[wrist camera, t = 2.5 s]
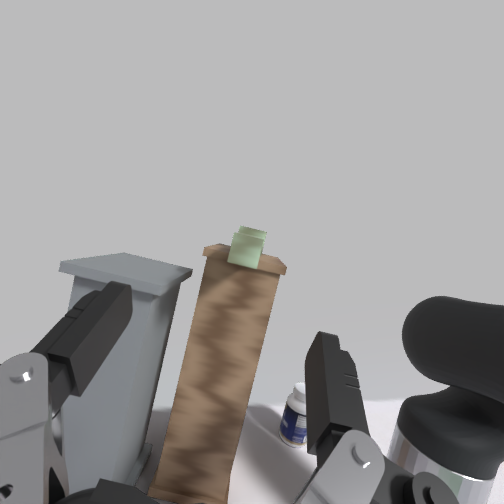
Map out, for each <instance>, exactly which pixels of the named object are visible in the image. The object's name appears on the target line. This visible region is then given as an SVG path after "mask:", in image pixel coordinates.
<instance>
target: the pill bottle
mask: <svg viewBox="0 0 504 504" xmlns="http://www.w3.org/2000/svg"><path fill="white" fill-rule="evenodd" d="M279 434H280V437H281V439H282V440H283V441H284V442H285V443H286V444H288V445H289V446H292V447H295V448H302V447H304V446H305V445H306V444H307V428H306V395H305V383H300V382H299V383H296V384H295V387H294V390H293V393H291V394H290V395H289V396H288V399H287V402H286V405H285V409H284V413H283V417H282V421H281V425H280V429H279Z"/></svg>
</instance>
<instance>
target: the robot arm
mask: <svg viewBox="0 0 504 504" xmlns="http://www.w3.org/2000/svg"><path fill="white" fill-rule="evenodd" d="M132 313H133V304H132V287H131V285H129V284H125V283H120V282H116V281H110V282H109V283H108V284H107V285H106V286H105V287H104V288H103V290H102V291H98V290H94V291H92V292H90V293H88V294H86V295H85V296H83V297H81V299H80V300H79V301H78V302H77V303H76V304H75V305H74V306H73V308H72V309H70V310H69V311H68V312H67V314H65V317H63V318H62V319H61V320H60V321H59V322H58V323H57V324H56V325H55V326H54V327H53V328H52V329H51V330H50V331H49V333H48V334H47V335H46V336H45V337H44V338H43V339H42V340H41V341H40V342H39V343H38V344H37V345H36V346H35V347H34V348H33V349H32V350H31V351H30V352H29V353H23V354H19V355H16V356H14V357H12V358H10V359H8V360H7V361H5V362H4V363H3V364H0V504H159V503H158V502H156V501H155V500H153V499H152V498H150V497H149V496H147V495H146V494H144V493H143V492H141V491H140V490H138V489H137V488H135V487H134V486H131V485H126V484H122V483H118V482H114V481H110V480H106V479H102V478H100V479H99V481H98V483H97V485H96V488H89V489H85V490H81V491H78V492H76V493H73V494H71V495H69V481H68V473H67V468H66V462H65V444H64V421H63V403H64V402H65V401H66V399H67V398H68V396H69V395H73V396H77V397H81V395H82V394H83V392H84V391H85V389H86V388H87V386H88V385H89V383H90V382H91V380H92V379H93V377H94V376H95V374H96V373H97V371H98V370H99V368H100V367H101V365H102V364H103V362H104V360H105V359H106V357H107V356H108V354H109V353H110V351H111V350H112V348H113V347H114V345H115V344H116V342H117V341H118V339H119V338H120V336H121V335H122V333H123V332H124V330H125V329H126V327H127V326H128V324H129V322H130V320H131V317H132ZM402 341H403V346H404V350H405V352H406V354H407V357H408V358H409V360H410V361H411V363H412V364H413V366H414V367H415V368H416V369H417V370H418V371H419V372H420V373H422V374H423V375H424V376H426V377H428V378H429V379H432V380H434V381H437V382H440V383H443V384H446V385H450V387H448V388H447V389H445V390H442V391H440V392H437V393H433V394H427V395H418V396H412V397H409V398H407V399H406V400H405V401H404V402H403V404H402V406H401V408H400V411H399V415H398V418H397V422H396V426H395V429H394V433H393V436H392V440H391V443H390V447H389V450H388V454H387V457H385V456H384V455H383V454H382V452H381V450H380V448H379V446H378V445H377V444H376V442H375V441H374V440H373V439H372V438H371V436H370V434H369V430H368V425H367V420H366V415H365V410H364V406H363V401H362V396H361V391H360V390H359V388H360V386H359V381H358V379H357V371H356V366H355V363H354V361H353V360H352V358H351V356H350V354H349V353H348V352H347V351H343V350H340V344H339V338H338V336H337V335H333V334H329V333H325V332H320V331H319V332H318V333H317V335H316V337H315V339H314V341H313V343H312V345H311V347H310V349H309V351H308V353H307V356H306V360H305V395H306V428H307V453H308V454H312V455H316V456H317V467H316V469H315V470H314V472H313V473H312V475H311V476H310V478H309V479H308V480H307V482H306V483H305V485H304V486H303V488H302V489H301V491H300V492H299V494H298V495H297V497H296V498H295V500H294V501H293V503H292V504H487V501H488V498H489V495H490V491H491V488H492V485H493V482H494V479H495V476H496V473H497V470H498V467H499V465H500V464H501V463H502V462H503V461H504V306H503V305H493V304H486V303H478V302H471V301H465V300H462V299H457V298H452V297H447V296H436V297H431V298H428V299H426V300H424V301H422V302H420V303H419V304H417V305H416V306H415V307H414V308H413V309H412V310H411V311H410V313H409V314H408V315H407V317H406V319H405V322H404V325H403V329H402ZM194 504H205V503H194Z"/></svg>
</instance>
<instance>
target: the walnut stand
mask: <svg viewBox="0 0 504 504" xmlns="http://www.w3.org/2000/svg"><path fill="white" fill-rule="evenodd" d="M230 248H231V246H227V245H224V244H216V245H212V246H208V247H204V251H203V256H207V260H206V264H205V269H204V273H203V277H202V282H201V286H200V290H199V295H198V299H197V303H196V308H195V312H194V316H193V320H192V325H191V329H190V333H189V338H188V342H187V346H186V351H185V355H184V359H183V364H182V368H181V372H180V376H179V381H178V385H177V389H176V394H175V398H174V403H173V407H172V411H171V415H170V419H169V424H168V428H167V432H166V437H165V441H164V445H163V450H162V454H161V458H160V462H159V465H158V467H157V470H156V472H155V474H154V477H153V479H152V481H151V484H150V486H149V490H148V494H147V496H149V497H153V498H158V499H162V500H166V501H170V502H174V503H178V504H194V503H205V504H227V501H228V492H229V483H230V474H231V470H232V465H233V461H234V457H235V453H236V449H237V445H238V441H239V437H240V433H241V429H242V425H243V421H244V417H245V413H246V409H247V405H248V401H249V397H250V393H251V389H252V385H253V381H254V377H255V373H256V369H257V365H258V361H259V357H260V353H261V349H262V345H263V341H264V337H265V333H266V329H267V325H268V321H269V317H270V313H271V309H272V305H273V301H274V297H275V293H276V289H277V285H278V281H279V277H280V274H282V275H285V273H286V269H287V267H286V266H285V265H284V264H283V263H282V262H281V261H280V259H279V258H277V257H273V256H269V255H265V254H261V256H260V257H259V261H258V266H257V269H254V268H250V267H246V266H242V265H238V264H234V263H229V262H227V261H228V257H229V252H230Z"/></svg>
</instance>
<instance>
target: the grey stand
mask: <svg viewBox="0 0 504 504" xmlns="http://www.w3.org/2000/svg"><path fill="white" fill-rule="evenodd" d="M192 270H193V269H189V268H185V267H181V266H177V265H173V264H168V263H164V262H161V261H156V260H152V259H148V258H143V257H139V256H136V255H131V254H127V253H119V254H111V255H104V256H96V257H89V258H82V259H74V260H67V261H61V263H60V267H59V272H64V273H67V274H72V275H75V278H74V283H73V287H72V292H71V298H70V302H69V307H68V311H69V310H70V309H72V308H73V306H74V305H75V304H76V303H77V302H78V301H79V300H80V299H81V297H83V296H85V295H86V294H88V293H90V292H92V291H94V290H98V291H102V290H103V288H104V287H105V286H106V285H107V284H108V283H109V282H110V281H116V282H120V283H125V284H129V285H131V287H132V304H133V313H132V317H131V320H130V322H129V324H128V326H127V327H126V329H125V330H124V332H123V333H122V335H121V336H120V338H119V339H118V341H117V342H116V344H115V345H114V347H113V348H112V350H111V351H110V353H109V354H108V356H107V357H106V359H105V360H104V362H103V364H102V365H101V367H100V368H99V370H98V371H97V373H96V374H95V376H94V377H93V379H92V380H91V382H90V383H89V385H88V386H87V388H86V389H85V391H84V392H83V394H82V395H81V397H77V396H73V395H69V396H68V398H67V399H66V401H65V402H64V403H63V421H64V444H65V462H66V468H67V473H68V481H69V495H71V494H73V493H76V492H78V491H81V490H85V489H89V488H96V485H97V483H98V481H99V479H100V478H102V479H106V480H110V481H114V482H118V483H122V484H126V485H131V486H135V484H136V482H137V480H138V478H139V476H140V473H141V471H142V469H143V467H144V465H145V463H146V461H147V459H148V457H149V455H150V453H151V449H152V444H148V443H145V438H146V434H147V430H148V425H149V421H150V416H151V412H152V408H153V403H154V399H155V394H156V390H157V385H158V381H159V377H160V372H161V368H162V363H163V358H164V354H165V350H166V346H167V342H168V337H169V333H170V328H171V324H172V319H173V315H174V311H175V306H176V302H177V298H178V293H179V289H180V284H181V282H183V281H184V280H186V279H187V278H189V277H191V275H192Z"/></svg>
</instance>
